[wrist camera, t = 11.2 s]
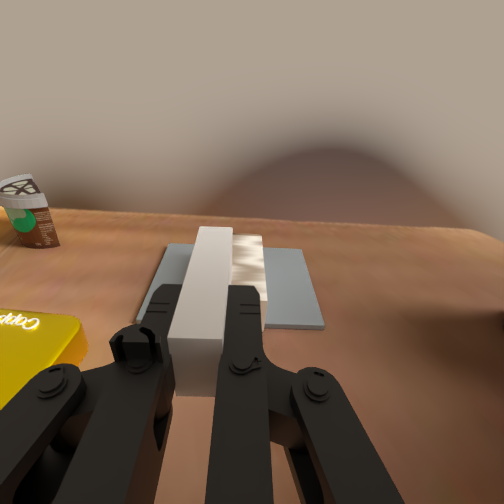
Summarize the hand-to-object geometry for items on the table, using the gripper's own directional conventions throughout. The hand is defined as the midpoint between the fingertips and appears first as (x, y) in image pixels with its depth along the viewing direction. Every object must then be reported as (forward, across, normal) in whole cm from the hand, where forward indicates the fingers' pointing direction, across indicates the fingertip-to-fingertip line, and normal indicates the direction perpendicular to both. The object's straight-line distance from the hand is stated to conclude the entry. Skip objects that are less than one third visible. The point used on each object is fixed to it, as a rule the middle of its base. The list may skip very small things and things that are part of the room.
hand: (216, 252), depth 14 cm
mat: (+24, 0, -21) cm, 32 cm away
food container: (+34, -36, -21) cm, 54 cm away
